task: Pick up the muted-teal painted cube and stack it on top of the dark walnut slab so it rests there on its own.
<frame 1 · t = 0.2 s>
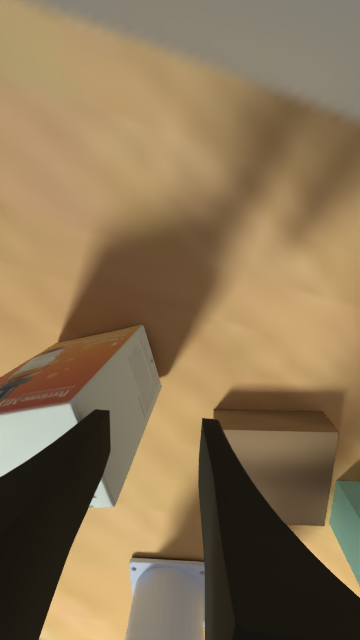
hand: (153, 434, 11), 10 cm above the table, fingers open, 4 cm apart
walnut slab: (262, 451, 23), on the table
small box: (109, 362, 22), on the table, touching gripper
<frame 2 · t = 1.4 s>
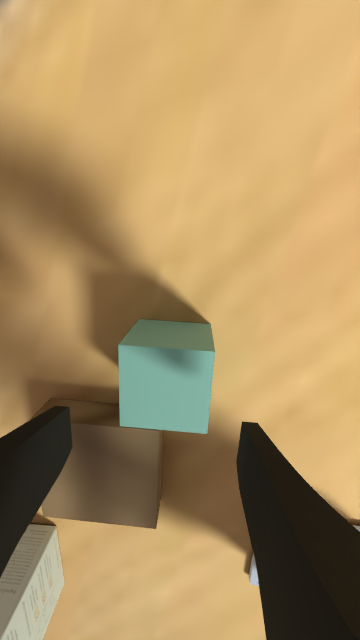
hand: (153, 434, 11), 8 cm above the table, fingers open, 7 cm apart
walnut slab: (110, 446, 22), on the table
teal block: (173, 354, 19), on the table
small box: (36, 549, 26), on the table
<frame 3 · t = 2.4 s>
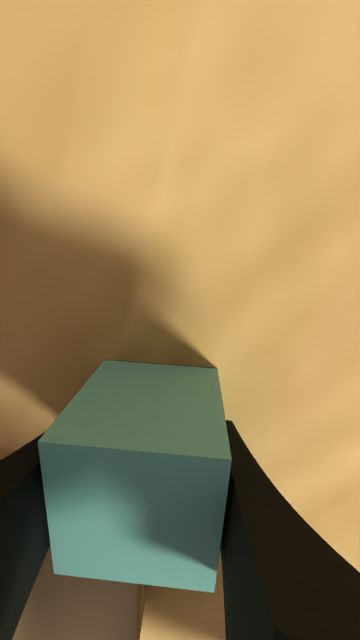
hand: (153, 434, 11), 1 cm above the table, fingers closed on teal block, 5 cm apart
walnut slab: (71, 532, 15), on the table
teal block: (158, 413, 12), on the table, touching gripper
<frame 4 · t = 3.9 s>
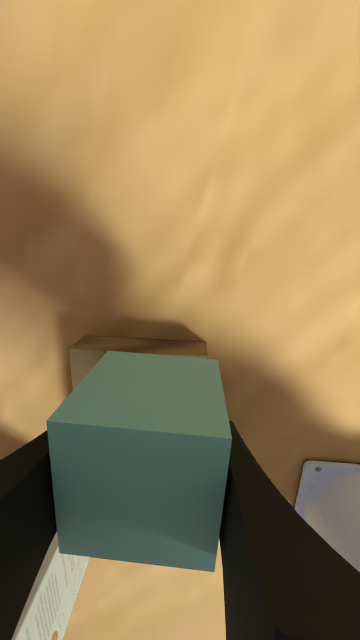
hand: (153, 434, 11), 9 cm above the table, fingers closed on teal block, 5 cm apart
walnut slab: (146, 389, 21), on the table
teal block: (160, 403, 12), point 7 cm above the table, touching gripper
small box: (65, 506, 25), on the table
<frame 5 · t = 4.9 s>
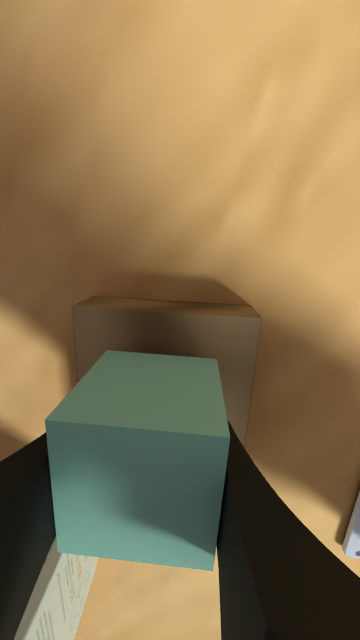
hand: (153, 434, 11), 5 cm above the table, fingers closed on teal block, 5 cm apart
walnut slab: (168, 369, 16), on the table
teal block: (159, 402, 12), point 4 cm above the table, touching gripper
small box: (63, 514, 20), on the table
when the fingers open (5 cm above the table, at t = 5.3 s): teal block drops 1 cm, resting on walnut slab.
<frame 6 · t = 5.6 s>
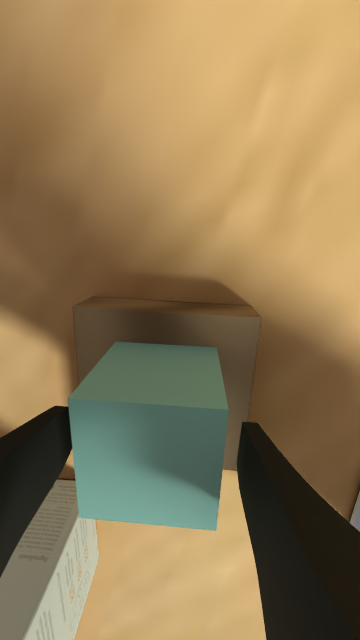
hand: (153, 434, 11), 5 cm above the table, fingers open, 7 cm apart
walnut slab: (169, 368, 16), on the table, touching teal block
teal block: (164, 389, 13), point 2 cm above the table, touching walnut slab
small box: (63, 514, 20), on the table
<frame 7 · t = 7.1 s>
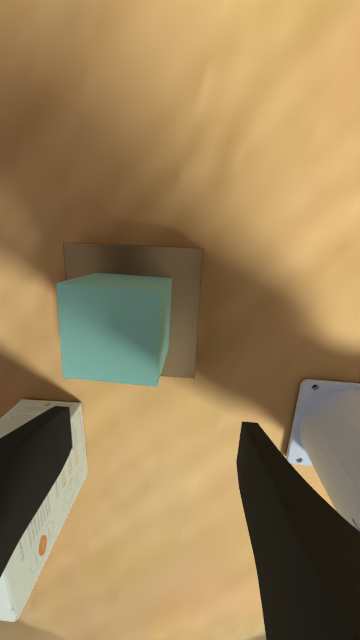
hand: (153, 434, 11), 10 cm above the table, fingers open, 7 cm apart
walnut slab: (141, 304, 21), on the table, touching teal block
teal block: (133, 312, 18), point 2 cm above the table, touching walnut slab
small box: (58, 434, 24), on the table
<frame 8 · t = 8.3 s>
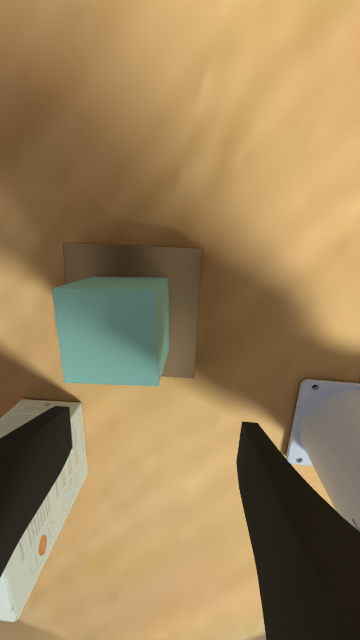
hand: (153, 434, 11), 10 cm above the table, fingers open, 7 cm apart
walnut slab: (141, 304, 21), on the table
teal block: (132, 314, 18), point 3 cm above the table
small box: (58, 434, 24), on the table
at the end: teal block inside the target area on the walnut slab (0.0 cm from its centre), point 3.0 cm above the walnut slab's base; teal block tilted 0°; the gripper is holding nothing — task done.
